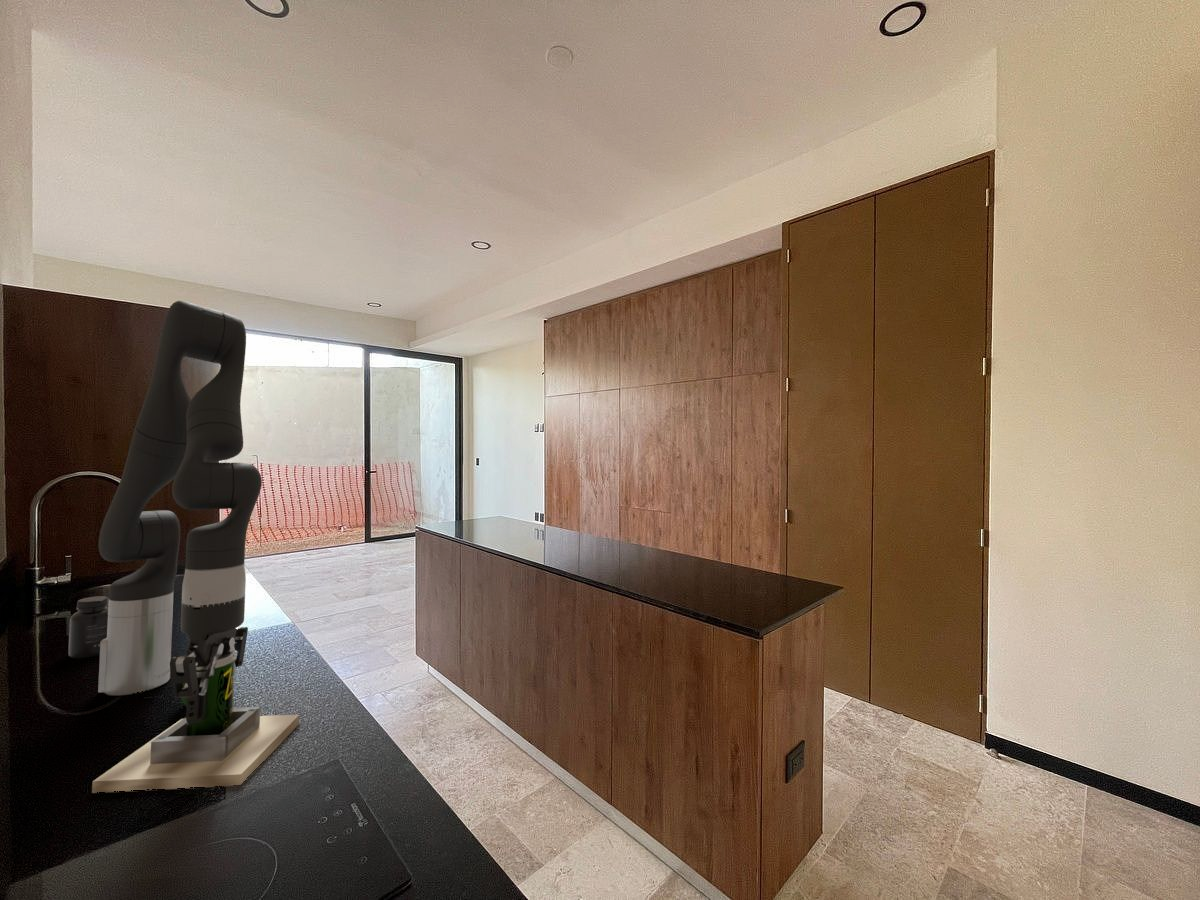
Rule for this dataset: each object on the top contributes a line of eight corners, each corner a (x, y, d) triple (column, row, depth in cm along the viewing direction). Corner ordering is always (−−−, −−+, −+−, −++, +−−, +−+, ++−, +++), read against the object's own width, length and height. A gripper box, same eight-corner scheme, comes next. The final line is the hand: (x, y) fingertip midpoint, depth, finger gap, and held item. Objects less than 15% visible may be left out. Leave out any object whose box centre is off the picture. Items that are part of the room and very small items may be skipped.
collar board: (92, 793, 65) (93, 757, 65) (181, 728, 81) (182, 699, 81) (240, 785, 67) (241, 751, 67) (299, 723, 83) (300, 696, 83)
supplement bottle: (61, 655, 109) (64, 600, 109) (102, 645, 115) (104, 593, 115) (78, 661, 106) (80, 604, 107) (118, 650, 113) (121, 596, 113)
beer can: (183, 752, 70) (186, 665, 70) (188, 734, 75) (191, 653, 75) (230, 741, 73) (233, 658, 73) (232, 724, 77) (235, 646, 78)
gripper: (218, 584, 81) (214, 689, 81) (149, 610, 67) (143, 738, 66) (267, 584, 82) (263, 688, 81) (209, 609, 68) (204, 736, 67)
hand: (209, 710), depth 74 cm, fingers closed on beer can, 5 cm apart
